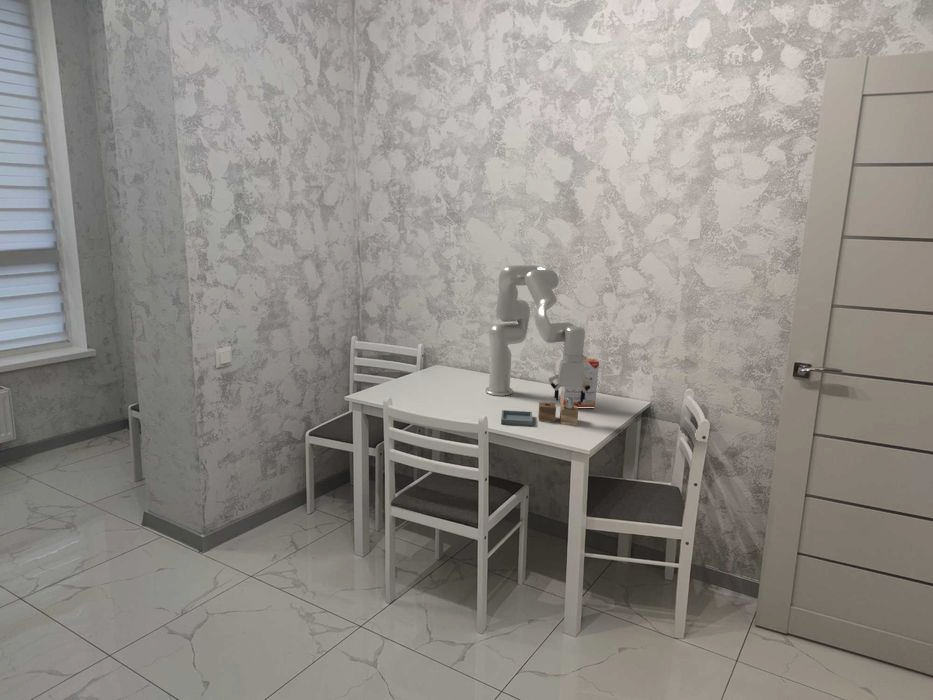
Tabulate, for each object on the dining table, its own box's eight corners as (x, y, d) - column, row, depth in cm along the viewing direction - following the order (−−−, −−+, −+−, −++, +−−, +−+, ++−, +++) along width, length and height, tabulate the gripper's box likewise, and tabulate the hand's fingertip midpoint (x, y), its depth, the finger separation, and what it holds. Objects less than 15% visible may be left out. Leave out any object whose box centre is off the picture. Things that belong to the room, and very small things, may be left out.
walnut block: (538, 416, 259) (539, 402, 258) (554, 417, 259) (555, 403, 258) (538, 421, 253) (539, 406, 252) (555, 422, 253) (556, 407, 251)
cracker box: (563, 409, 270) (566, 360, 266) (559, 404, 276) (563, 357, 271) (595, 409, 271) (599, 361, 267) (591, 405, 277) (595, 358, 273)
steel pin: (565, 418, 254) (566, 396, 253) (571, 419, 254) (572, 397, 252) (565, 420, 252) (566, 398, 250) (571, 420, 252) (573, 399, 250)
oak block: (559, 419, 257) (560, 404, 255) (575, 420, 256) (576, 405, 255) (560, 424, 250) (561, 409, 249) (577, 425, 250) (578, 410, 249)
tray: (501, 414, 259) (502, 410, 259) (531, 416, 258) (531, 411, 258) (501, 424, 247) (501, 419, 247) (532, 426, 247) (532, 421, 246)
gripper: (594, 357, 251) (590, 399, 255) (549, 354, 252) (546, 396, 256) (596, 362, 244) (592, 404, 248) (550, 359, 245) (547, 401, 249)
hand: (569, 400), depth 252 cm, fingers open, 9 cm apart
